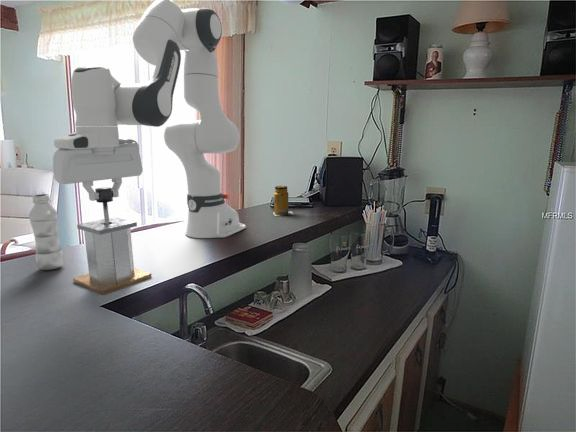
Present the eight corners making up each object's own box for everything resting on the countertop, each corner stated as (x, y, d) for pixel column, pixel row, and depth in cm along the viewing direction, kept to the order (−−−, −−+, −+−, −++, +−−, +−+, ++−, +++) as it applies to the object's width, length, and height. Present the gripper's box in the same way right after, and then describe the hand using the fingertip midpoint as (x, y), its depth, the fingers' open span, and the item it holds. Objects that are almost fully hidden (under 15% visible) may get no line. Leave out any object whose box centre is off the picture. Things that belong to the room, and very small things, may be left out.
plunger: (115, 251, 104) (108, 185, 100) (130, 255, 100) (124, 188, 96) (90, 258, 99) (82, 189, 95) (105, 263, 95) (97, 191, 91)
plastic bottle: (53, 273, 105) (42, 197, 100) (30, 271, 106) (19, 197, 102) (70, 265, 111) (61, 193, 107) (49, 263, 112) (39, 192, 108)
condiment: (272, 212, 176) (272, 185, 174) (291, 211, 178) (291, 184, 175) (274, 216, 169) (274, 188, 167) (294, 215, 171) (294, 187, 168)
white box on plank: (121, 267, 110) (116, 215, 106) (151, 277, 102) (146, 221, 99) (73, 282, 99) (66, 225, 96) (103, 294, 92) (96, 233, 89)
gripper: (130, 137, 103) (134, 191, 106) (45, 140, 87) (54, 203, 90) (145, 138, 100) (149, 193, 103) (60, 141, 83) (68, 207, 86)
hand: (104, 198), depth 96 cm, fingers closed on plunger, 4 cm apart
